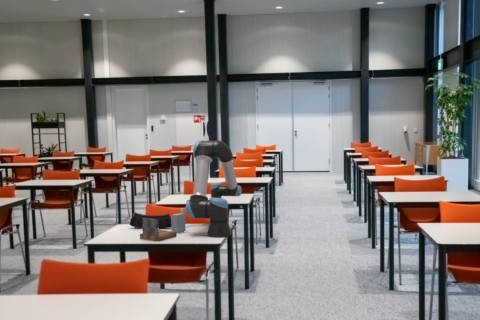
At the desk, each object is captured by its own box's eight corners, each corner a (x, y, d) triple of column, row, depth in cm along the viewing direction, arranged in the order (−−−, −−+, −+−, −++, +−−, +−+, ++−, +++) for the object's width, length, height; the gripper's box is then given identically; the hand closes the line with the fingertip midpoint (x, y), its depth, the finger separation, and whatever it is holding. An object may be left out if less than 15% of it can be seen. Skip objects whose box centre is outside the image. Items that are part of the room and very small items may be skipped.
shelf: (176, 236, 329) (175, 216, 328) (158, 241, 316) (158, 220, 315) (158, 234, 338) (157, 214, 338) (140, 238, 325) (139, 218, 325)
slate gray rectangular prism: (185, 231, 345) (185, 213, 344) (177, 233, 338) (176, 215, 337) (179, 231, 348) (179, 213, 347) (171, 233, 341) (171, 214, 340)
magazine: (176, 215, 356) (136, 202, 361) (175, 216, 353) (134, 203, 358) (170, 239, 358) (130, 226, 363) (168, 240, 355) (128, 226, 360)
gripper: (222, 213, 362) (203, 218, 345) (194, 210, 376) (174, 215, 359) (222, 202, 361) (202, 207, 344) (194, 200, 376) (174, 204, 358)
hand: (188, 211), depth 351 cm, fingers open, 13 cm apart
